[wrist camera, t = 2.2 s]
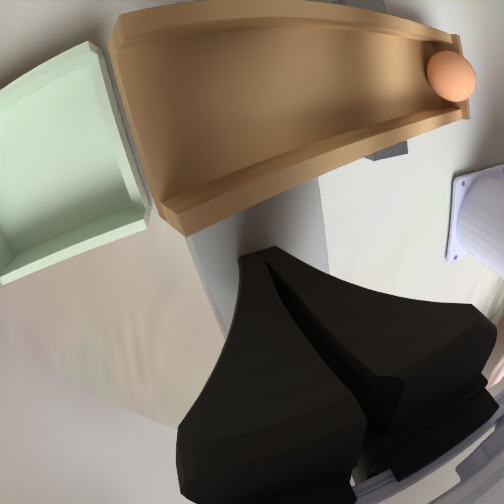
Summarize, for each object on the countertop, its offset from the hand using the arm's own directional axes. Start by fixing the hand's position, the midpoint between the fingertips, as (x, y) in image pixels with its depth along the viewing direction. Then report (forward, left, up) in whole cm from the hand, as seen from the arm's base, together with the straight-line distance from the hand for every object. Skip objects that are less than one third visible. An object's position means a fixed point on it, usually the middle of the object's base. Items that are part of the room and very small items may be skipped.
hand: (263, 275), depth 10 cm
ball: (-13, -6, -3) cm, 15 cm away
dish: (+9, -6, -7) cm, 13 cm away
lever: (-6, -3, -3) cm, 7 cm away
